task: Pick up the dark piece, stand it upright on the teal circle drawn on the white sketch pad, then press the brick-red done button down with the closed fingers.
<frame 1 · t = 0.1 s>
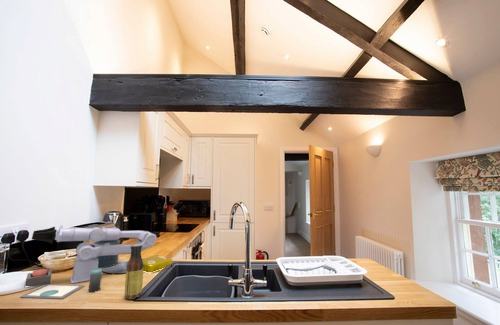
hand: (32, 234, 96), 22 cm above the counter, tool horizontal, fingers open, 7 cm apart
dark piece: (94, 290, 95), on the counter
done button: (39, 274, 101), point 4 cm above the counter, slide at 0.0 cm
button housing: (38, 282, 100), on the counter
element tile: (153, 268, 126), on the counter
canister: (104, 264, 128), on the counter
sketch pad: (54, 291, 92), on the counter
sauce bottle: (132, 297, 91), on the counter
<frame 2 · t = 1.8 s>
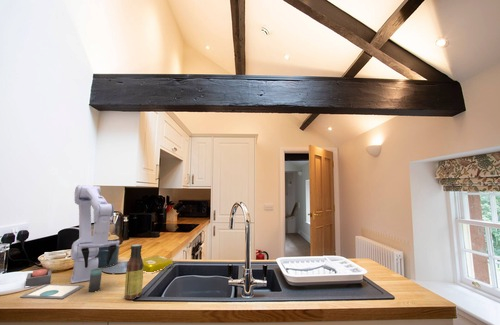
hand: (97, 265, 96), 10 cm above the counter, tool pointing down, fingers open, 7 cm apart
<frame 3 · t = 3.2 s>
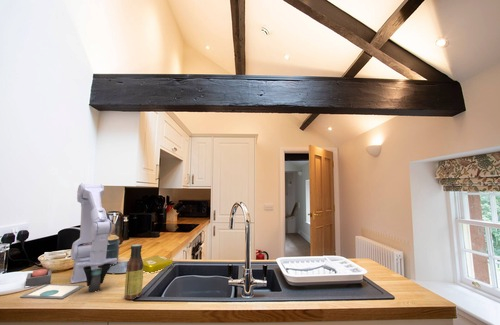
hand: (94, 284, 95), 2 cm above the counter, tool pointing down, fingers closed on dark piece, 4 cm apart
dark piece: (94, 290, 95), on the counter, touching gripper
everything else where it was.
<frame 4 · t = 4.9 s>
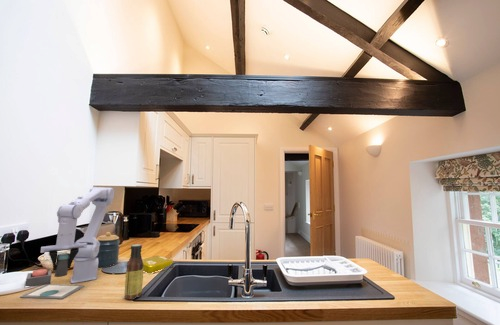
hand: (61, 268, 92), 9 cm above the counter, tool pointing down, fingers closed on dark piece, 4 cm apart
dark piece: (60, 275, 92), point 7 cm above the counter, touching gripper
when the fingers open (4 cm above the counter, at t = 6.6 s): dark piece stays where it is, resting on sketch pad.
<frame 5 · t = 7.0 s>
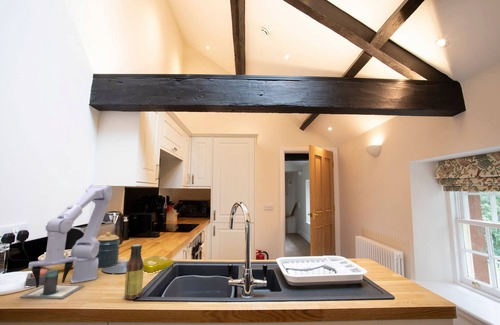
hand: (50, 284, 90), 4 cm above the counter, tool pointing down, fingers open, 7 cm apart
dark piece: (49, 293, 90), point 1 cm above the counter, touching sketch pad
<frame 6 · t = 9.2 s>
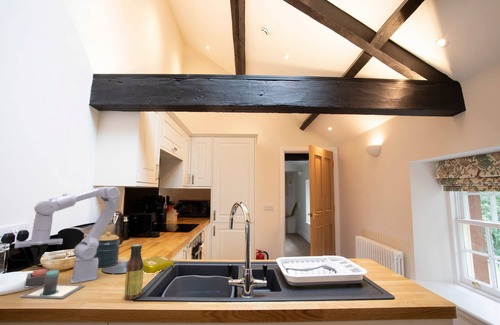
hand: (36, 263, 94), 10 cm above the counter, tool pointing down, fingers closed
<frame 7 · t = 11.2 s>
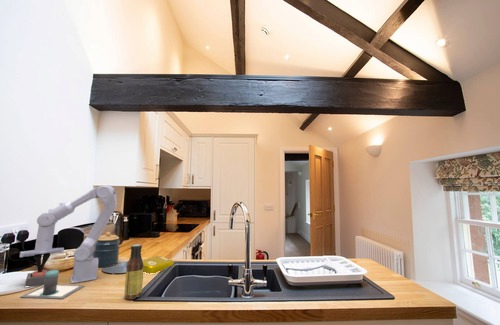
hand: (39, 271, 101), 5 cm above the counter, tool pointing down, fingers closed, pressing on done button
done button: (39, 275, 101), point 3 cm above the counter, slide at 0.4 cm, touching gripper
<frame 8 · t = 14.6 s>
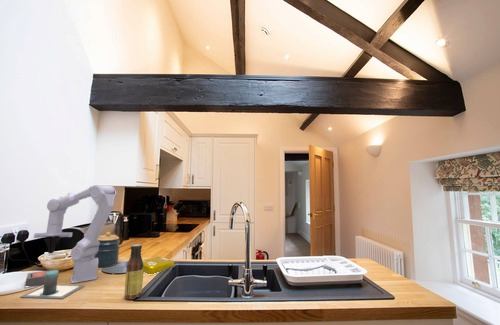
hand: (51, 252, 110), 10 cm above the counter, tool pointing down, fingers closed
done button: (39, 277, 101), point 2 cm above the counter, slide at 1.1 cm
at the end: dark piece 0.1 cm from the target spot, point 0.6 cm above the counter; dark piece tilted 1°; done button slide at 1.1 cm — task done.
